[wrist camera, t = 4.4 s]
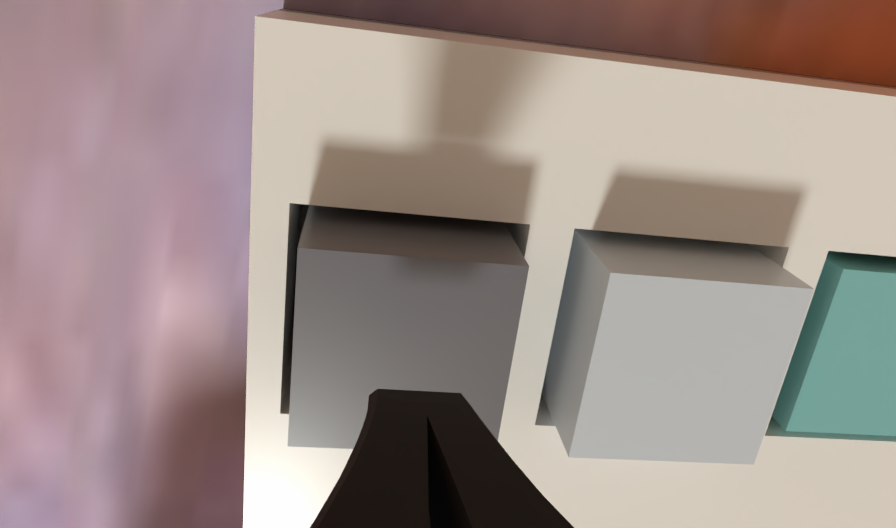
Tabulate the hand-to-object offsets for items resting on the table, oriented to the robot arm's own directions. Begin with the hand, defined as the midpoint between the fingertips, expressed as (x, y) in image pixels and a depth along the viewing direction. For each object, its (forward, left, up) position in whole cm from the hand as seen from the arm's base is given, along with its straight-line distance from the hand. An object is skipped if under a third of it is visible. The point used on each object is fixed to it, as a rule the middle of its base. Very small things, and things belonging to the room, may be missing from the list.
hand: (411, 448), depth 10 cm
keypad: (-6, 0, -8) cm, 10 cm away
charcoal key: (0, 0, -6) cm, 6 cm away
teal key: (-11, 0, -7) cm, 13 cm away
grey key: (-5, 0, -6) cm, 8 cm away
